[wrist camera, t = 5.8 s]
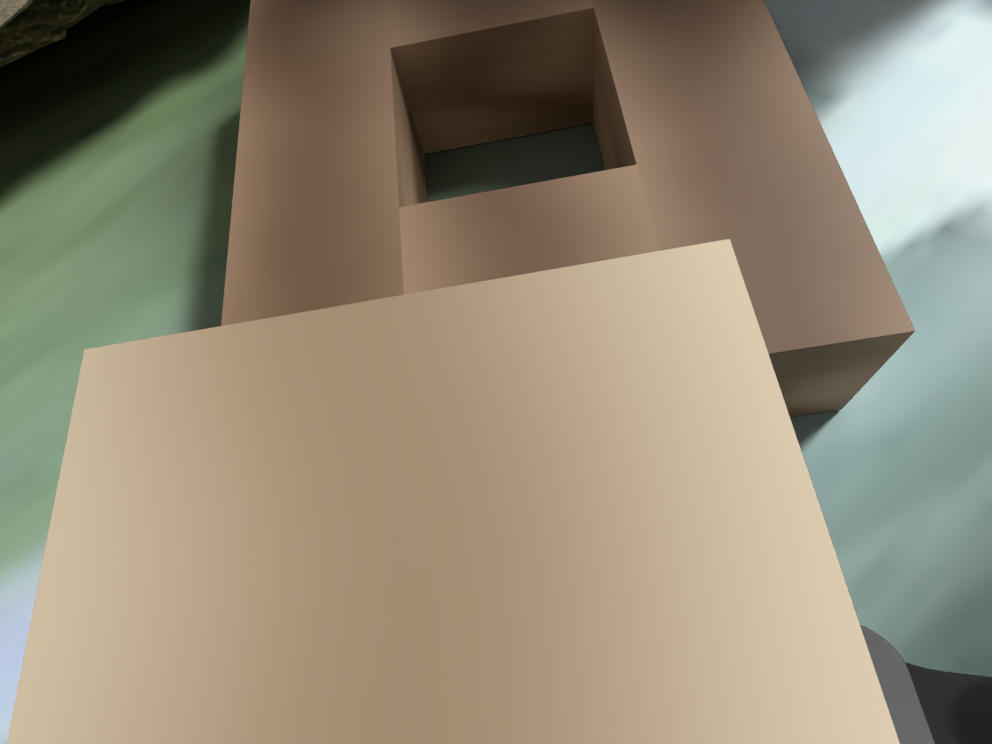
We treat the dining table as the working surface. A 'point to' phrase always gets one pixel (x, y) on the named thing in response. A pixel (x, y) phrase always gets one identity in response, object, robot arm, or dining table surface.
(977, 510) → the dining table surface
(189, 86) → the dining table surface
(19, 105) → the dining table surface
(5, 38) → the hollow geode rock
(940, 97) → the dining table surface
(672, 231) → the seat board
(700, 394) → the beech leg
